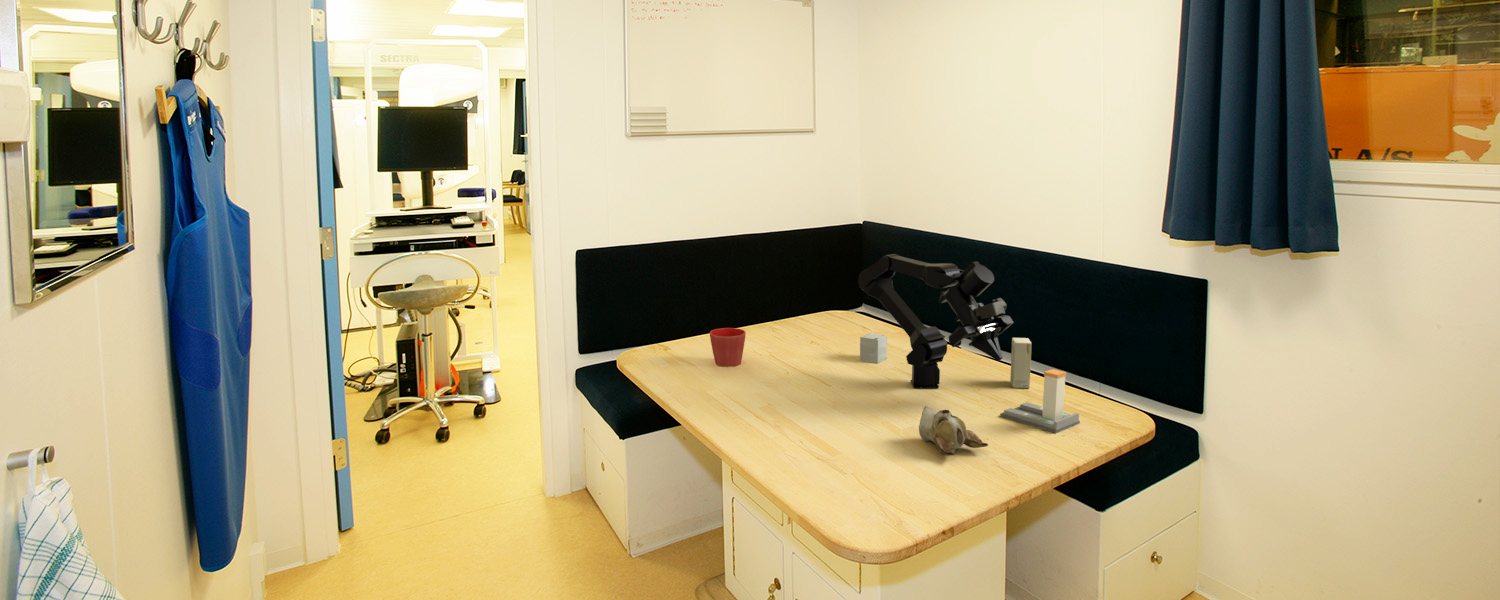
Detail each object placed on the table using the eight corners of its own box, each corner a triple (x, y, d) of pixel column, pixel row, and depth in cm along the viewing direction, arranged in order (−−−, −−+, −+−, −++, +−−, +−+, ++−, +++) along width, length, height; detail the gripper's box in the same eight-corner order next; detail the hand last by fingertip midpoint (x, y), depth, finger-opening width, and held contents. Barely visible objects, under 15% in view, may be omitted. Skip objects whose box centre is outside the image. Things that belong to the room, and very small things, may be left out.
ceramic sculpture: (944, 394, 179) (992, 418, 166) (942, 430, 181) (989, 457, 168) (905, 403, 174) (952, 428, 161) (904, 440, 176) (949, 468, 164)
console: (999, 416, 190) (1000, 406, 189) (1024, 407, 196) (1024, 397, 195) (1055, 433, 178) (1056, 423, 178) (1079, 423, 184) (1080, 413, 184)
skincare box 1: (868, 356, 243) (869, 332, 242) (887, 358, 240) (887, 335, 238) (859, 360, 238) (859, 336, 237) (877, 363, 235) (878, 339, 233)
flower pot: (753, 361, 240) (752, 329, 238) (733, 370, 231) (732, 338, 229) (724, 356, 246) (723, 325, 244) (703, 365, 237) (702, 333, 235)
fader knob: (1041, 419, 184) (1044, 371, 182) (1050, 416, 186) (1052, 369, 184) (1054, 423, 182) (1057, 375, 180) (1063, 420, 184) (1066, 372, 182)
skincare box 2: (1030, 388, 209) (1032, 343, 207) (1012, 388, 210) (1014, 343, 208) (1026, 381, 215) (1028, 337, 213) (1009, 380, 216) (1011, 336, 214)
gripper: (960, 293, 188) (997, 348, 182) (1009, 283, 199) (1045, 335, 193) (933, 319, 196) (967, 373, 190) (981, 308, 207) (1015, 359, 201)
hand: (1000, 359), depth 193 cm, fingers closed
